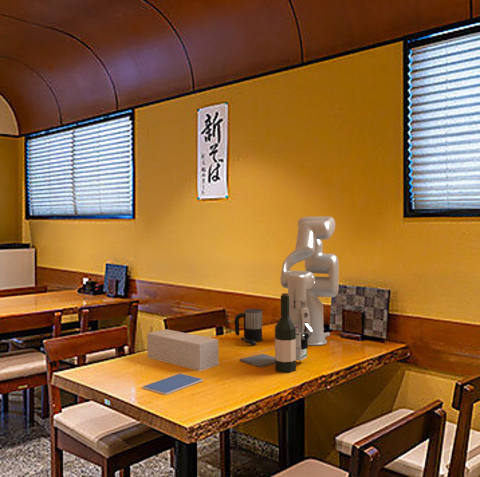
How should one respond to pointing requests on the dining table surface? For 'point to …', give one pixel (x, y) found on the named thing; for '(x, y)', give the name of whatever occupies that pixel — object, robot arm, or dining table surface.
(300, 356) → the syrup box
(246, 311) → the milk frother
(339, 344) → the dining table surface
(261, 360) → the mat
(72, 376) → the dining table surface
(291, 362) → the wine bottle
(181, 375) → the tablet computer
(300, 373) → the dining table surface
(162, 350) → the stack of papers
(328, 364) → the dining table surface
